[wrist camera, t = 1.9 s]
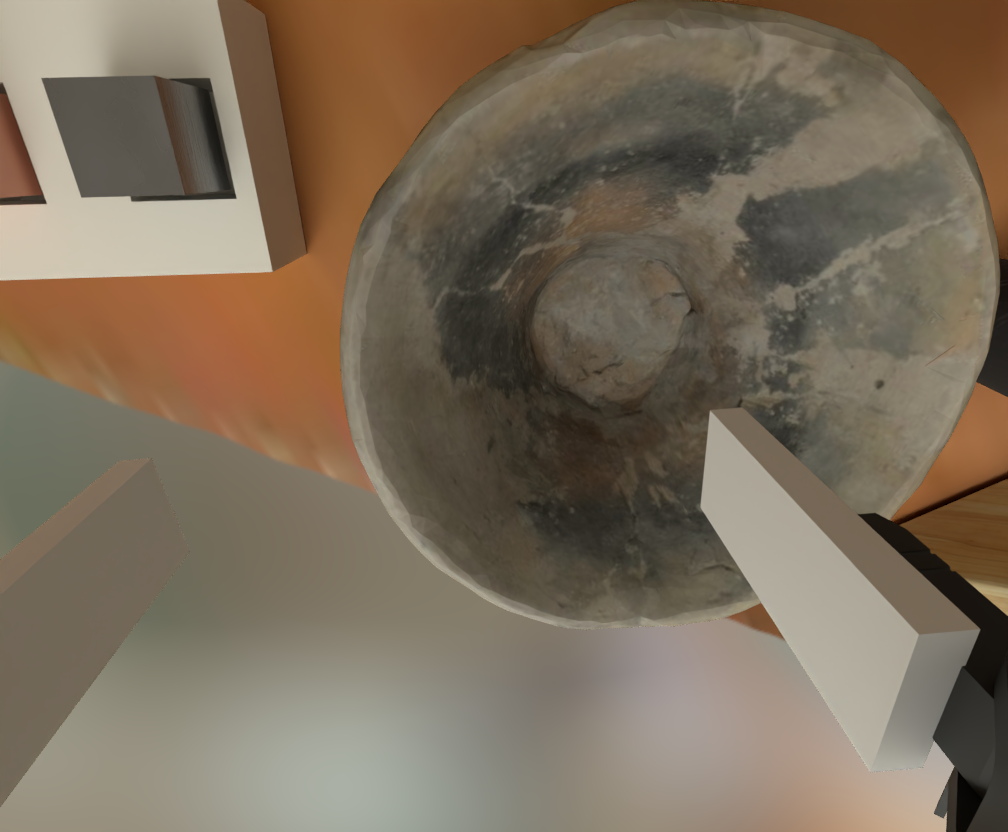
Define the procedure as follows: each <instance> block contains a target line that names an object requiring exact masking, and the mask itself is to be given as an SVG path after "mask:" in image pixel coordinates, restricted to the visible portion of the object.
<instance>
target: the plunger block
mask: <svg viewBox="0 0 1008 832" xmlns="http://www.w3.org/2000/svg"><path fill="white" fill-rule="evenodd" d="M153 75H154V76H158V77H162V78H165V79H169V80H173V81H177V82H181V83H184V84H188V85H192V86H196V87H200V88H203V89H207V90H209V95H210V99H211V104H212V108H213V113H214V117H215V122H216V126H217V131H218V135H219V140H220V144H221V149H222V153H223V157H224V162H225V166H226V171H227V175H228V180H229V184H230V189H231V190H224V191H215V192H206V193H197V194H188V195H162V196H125V197H88V198H81V195H80V192H79V189H78V186H77V183H76V180H75V177H74V174H73V171H72V168H71V165H70V162H69V159H68V156H67V153H66V150H65V147H64V144H63V141H62V138H61V135H60V132H59V130H58V127H57V124H56V121H55V118H54V115H53V112H52V109H51V106H50V103H49V100H48V97H47V94H46V91H45V88H44V85H43V82H42V79H41V78H60V77H107V76H153ZM0 93H1V94H7V97H8V100H9V103H10V105H11V108H12V111H13V114H14V116H15V119H16V122H17V125H18V127H19V130H20V133H21V136H22V138H23V141H24V144H25V147H26V149H27V152H28V155H29V158H30V160H31V163H32V166H33V169H34V171H35V174H36V177H37V180H38V182H39V185H40V188H41V191H42V193H43V195H33V196H20V197H7V198H0V280H25V279H57V278H90V277H123V276H155V275H188V274H221V273H253V272H273V271H275V270H277V269H279V268H281V267H283V266H285V265H287V264H289V263H290V262H292V261H294V260H296V259H298V258H300V257H302V256H304V255H305V254H307V251H306V246H305V240H304V234H303V228H302V223H301V217H300V211H299V206H298V200H297V194H296V189H295V183H294V177H293V171H292V166H291V160H290V154H289V149H288V143H287V137H286V131H285V126H284V120H283V114H282V109H281V103H280V97H279V92H278V86H277V80H276V74H275V69H274V63H273V57H272V52H271V46H270V40H269V34H268V29H267V23H266V17H265V14H264V13H262V12H261V11H259V10H258V9H256V8H255V7H254V6H252V5H251V4H249V3H248V2H246V1H245V0H0Z"/></svg>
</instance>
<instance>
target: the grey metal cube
mask: <svg viewBox="0 0 1008 832" xmlns="http://www.w3.org/2000/svg"><path fill="white" fill-rule="evenodd" d="M41 79H42V82H43V85H44V88H45V91H46V94H47V97H48V100H49V103H50V106H51V109H52V112H53V115H54V118H55V121H56V124H57V127H58V130H59V132H60V135H61V138H62V141H63V144H64V147H65V150H66V153H67V156H68V159H69V162H70V165H71V168H72V171H73V174H74V177H75V180H76V183H77V186H78V189H79V192H80V195H81V198H88V197H125V196H162V195H188V194H197V193H206V192H215V191H224V190H231V189H230V184H229V180H228V175H227V171H226V166H225V162H224V157H223V153H222V149H221V144H220V140H219V135H218V131H217V126H216V122H215V117H214V113H213V108H212V104H211V99H210V95H209V90H207V89H203V88H200V87H196V86H192V85H188V84H184V83H181V82H177V81H173V80H169V79H165V78H162V77H158V76H154V75H153V76H107V77H60V78H41Z"/></svg>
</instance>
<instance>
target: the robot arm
mask: <svg viewBox="0 0 1008 832" xmlns="http://www.w3.org/2000/svg"><path fill="white" fill-rule="evenodd" d="M700 507H701V509H702V511H703V512H704V514H705V515H706V517H707V518H708V520H709V521H710V523H711V525H712V526H713V528H714V529H715V531H716V532H717V534H718V536H719V537H720V539H721V540H722V542H723V543H724V545H725V546H726V548H727V550H728V551H729V553H730V554H731V556H732V557H733V559H734V560H735V562H736V564H737V565H738V567H739V568H740V570H741V571H742V573H743V575H744V576H745V578H746V579H747V581H748V582H749V584H750V585H751V587H752V589H753V590H754V592H755V593H756V595H757V596H758V598H759V599H760V601H761V603H762V604H763V606H764V607H765V609H766V610H767V612H768V614H769V615H770V617H771V618H772V620H773V621H774V623H775V624H776V626H777V628H778V629H779V631H780V632H781V634H782V635H783V637H784V638H785V640H786V642H787V643H788V645H789V646H790V648H791V649H792V651H793V652H794V654H795V656H796V657H797V659H798V660H799V662H800V663H801V665H802V667H803V668H804V670H805V671H806V673H807V674H808V676H809V677H810V679H811V681H812V682H813V684H814V685H815V687H816V688H817V690H818V692H819V693H820V695H821V696H822V698H823V699H824V701H825V702H826V704H827V706H828V707H829V709H830V710H831V712H832V713H833V715H834V716H835V718H836V720H837V721H838V723H839V724H840V726H841V727H842V729H843V731H844V732H845V734H846V735H847V737H848V738H849V740H850V741H851V743H852V745H853V746H854V748H855V749H856V751H857V752H858V754H859V755H860V757H861V759H862V760H863V762H864V763H865V765H866V766H867V768H868V770H869V771H870V772H881V771H892V770H903V769H914V768H923V766H924V763H925V761H926V759H927V756H928V754H929V751H930V749H931V747H932V744H933V742H934V741H935V742H936V743H937V744H938V746H939V747H940V748H941V750H942V751H943V752H944V753H945V755H946V756H947V757H948V758H949V760H950V761H951V762H952V763H953V765H954V766H955V767H954V769H953V771H952V773H951V776H950V778H949V780H948V782H947V784H946V786H945V789H944V791H943V793H942V795H941V797H940V800H939V802H938V804H937V807H936V809H935V812H934V814H936V815H938V816H940V817H942V818H944V816H945V814H946V812H947V828H946V832H1008V616H1007V615H1006V614H1005V613H1004V612H1003V611H1001V610H1000V609H999V608H998V607H997V606H996V605H994V604H993V603H992V602H991V601H990V600H989V599H987V598H986V597H985V596H984V595H983V594H982V593H980V592H979V591H978V590H977V589H976V588H975V587H973V586H972V585H971V584H970V583H969V582H968V581H966V580H965V579H964V578H963V577H962V576H961V575H959V574H958V573H957V572H956V571H951V569H950V566H949V565H948V564H947V563H945V562H944V561H943V560H942V559H941V558H940V557H938V556H937V555H936V554H931V552H930V549H929V548H928V547H927V546H926V545H924V544H923V543H922V542H921V541H920V540H919V539H917V538H916V537H915V536H914V535H913V534H912V533H910V532H909V531H908V530H907V529H905V528H903V527H902V526H900V525H898V524H896V523H894V522H892V521H890V520H888V519H886V518H884V517H882V516H880V515H879V514H877V513H867V514H856V513H855V512H854V511H853V510H852V509H851V508H850V507H849V506H848V505H847V504H846V503H844V502H843V501H842V500H841V499H840V498H839V497H838V496H837V495H836V494H835V493H834V492H833V491H832V490H830V489H829V488H828V487H827V486H826V485H825V484H824V483H823V482H822V481H821V480H820V479H819V478H818V477H817V476H815V475H814V474H813V473H812V472H811V471H810V470H809V469H808V468H807V467H806V466H805V465H804V464H803V463H802V462H800V461H799V460H798V459H797V458H796V457H795V456H794V455H793V454H792V453H791V452H790V451H789V450H788V449H786V448H785V447H784V446H783V445H782V444H781V443H780V442H779V441H778V440H777V439H776V438H775V437H774V436H773V435H771V434H770V433H769V432H768V431H767V430H766V429H765V428H764V427H763V426H762V425H761V424H760V423H759V422H757V421H756V420H755V419H754V418H753V417H752V416H751V415H750V414H749V413H748V412H747V411H746V410H745V409H744V408H730V409H718V410H710V415H709V425H708V435H707V446H706V456H705V466H704V476H703V486H702V496H701V506H700ZM189 552H190V550H189V547H188V545H187V543H186V540H185V538H184V535H183V533H182V531H181V528H180V526H179V523H178V521H177V518H176V516H175V513H174V511H173V509H172V506H171V504H170V501H169V499H168V496H167V494H166V492H165V489H164V487H163V484H162V482H161V479H160V477H159V475H158V472H157V470H156V467H155V465H154V463H153V460H152V458H150V459H138V460H126V461H119V462H118V463H116V464H115V465H114V466H113V467H111V468H110V469H109V470H108V471H106V472H105V473H104V474H103V475H102V476H100V477H99V478H98V479H97V480H96V481H94V482H93V483H92V484H91V485H90V486H88V487H87V488H86V489H85V490H84V491H82V492H81V493H80V494H79V495H78V496H76V497H75V498H74V499H73V500H71V501H70V502H69V503H68V504H67V505H65V506H64V507H63V508H62V509H61V510H59V511H58V512H57V513H56V514H55V515H53V516H52V517H51V518H50V519H49V520H47V521H46V522H45V523H44V524H43V525H41V526H40V527H39V528H38V529H36V530H35V531H34V532H33V533H32V534H31V535H29V536H28V537H27V538H26V539H25V540H23V541H22V542H21V543H20V544H18V545H17V546H16V547H15V548H13V549H12V550H11V551H10V552H9V553H8V554H6V555H5V556H4V557H3V558H1V559H0V807H1V805H2V804H3V803H4V801H5V800H6V799H7V797H8V796H9V795H10V793H11V792H12V791H13V789H14V788H15V787H16V785H17V784H18V783H19V781H20V780H21V779H22V777H23V776H24V775H25V773H26V772H27V771H28V769H29V768H30V766H31V765H32V764H33V762H34V761H35V760H36V758H37V757H38V756H39V754H40V753H41V752H42V750H43V749H44V748H45V746H46V745H47V744H48V742H49V741H50V739H51V738H52V737H53V736H54V734H55V733H56V732H57V730H58V729H59V727H60V726H61V725H62V723H63V722H64V721H65V719H66V718H67V717H68V715H69V714H70V713H71V711H72V710H73V709H74V707H75V706H76V705H77V703H78V702H79V701H80V699H81V698H82V696H83V695H84V694H85V692H86V691H87V690H88V688H89V687H90V686H91V684H92V683H93V682H94V680H95V679H96V678H97V676H98V675H99V674H100V672H101V671H102V669H103V668H104V667H105V666H106V664H107V663H108V661H109V660H110V659H111V658H112V656H113V655H114V654H115V652H116V651H117V649H118V648H119V647H120V645H121V644H122V643H123V641H124V640H125V639H126V637H127V636H128V635H129V633H130V632H131V631H132V629H133V628H134V627H135V625H136V624H137V623H138V621H139V620H140V618H141V617H142V616H143V615H144V613H145V612H146V610H147V609H148V608H149V606H150V605H151V604H152V602H153V601H154V600H155V598H156V597H157V596H158V594H159V593H160V592H161V590H162V589H163V588H164V586H165V585H166V584H167V582H168V581H169V580H170V578H171V577H172V576H173V574H174V573H175V571H176V570H177V569H178V567H179V566H180V565H181V563H182V562H183V561H184V559H185V558H186V557H187V555H188V554H189Z"/></svg>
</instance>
